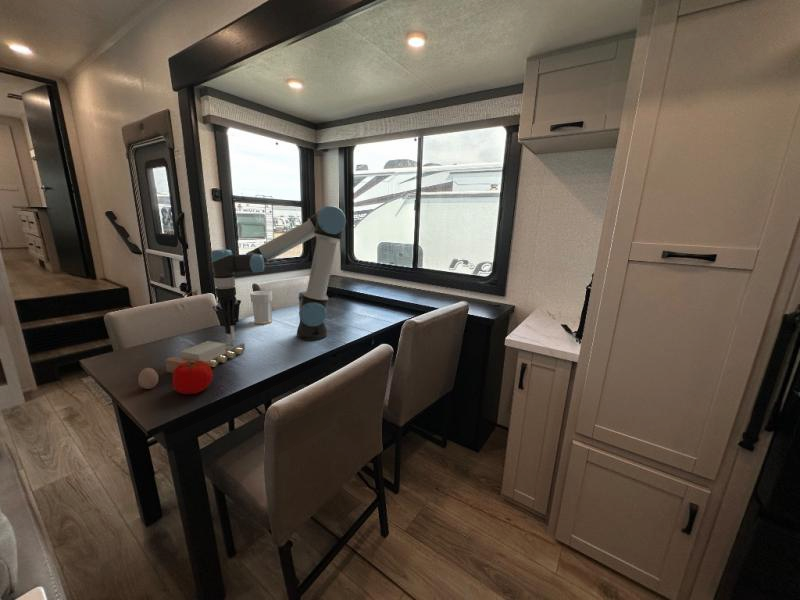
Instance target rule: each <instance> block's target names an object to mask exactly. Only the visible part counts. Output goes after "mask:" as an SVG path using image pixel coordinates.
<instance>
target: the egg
mask: <svg viewBox="0 0 800 600" xmlns="http://www.w3.org/2000/svg"><path fill="white" fill-rule="evenodd" d="M137 379H138V380H137V381H138V384H139V386H140V387H141V388H143V389H147V390H151V389H153V388H155V386H157V384H158V382H159V374H158V373H157V371H156V370H155V369H153V368H152V367H151V368H150V367H145V368H143V369H142V370H141V371H140V372H139V374H138V378H137Z"/></svg>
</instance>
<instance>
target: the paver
mask: <svg viewBox="0 0 800 600" xmlns="http://www.w3.org/2000/svg"><path fill="white" fill-rule="evenodd" d="M225 353H226V348H225V343H223V342H218V341H212V340H206V341H203V342H201V343H198V344H197V345H194V346H191V347H189V348H186V349H184V350H181V351H180V355H181V358H183V359H188V360H193V361H198V360H201V361H204V362H207V361H209V360H212V359H214V358H216V357H218V356H220V355H223V354H225Z"/></svg>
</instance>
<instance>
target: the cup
mask: <svg viewBox="0 0 800 600" xmlns="http://www.w3.org/2000/svg"><path fill="white" fill-rule="evenodd" d="M249 293H250V294H249V295H250V302H251V304H252V312H253V319H254V324H255V325H258V326H263V325H269V324H271V323H272V322H273V313H272V309H273V308H272V301H273V291H271V290H256V291H251V292H249Z"/></svg>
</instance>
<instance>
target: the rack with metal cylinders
mask: <svg viewBox="0 0 800 600" xmlns="http://www.w3.org/2000/svg"><path fill="white" fill-rule="evenodd" d="M224 344H225V348H226V353H225V354H223V355H220V356H218V357H216V358H214V359H212V360H209V361H207V362H206V363H207V364H208V365H209V366H210V367H211V368H212V367H214V368H216V367H217V366H218V364H219V363H225V362H227V360H228V359H229V358H231V359H234V358H235V357H236V355H243V354H244V353H245V352H244V351H246V347H245V343H239V344H237V345H235V346H234V342H233V341H230V340H229V341H228V342H226V343H224ZM188 361H189V362H191V361H192V362H195V361H193V360H188V359H183V358H182V357H177V356H171V357H169V358H166V359H165V365H166V372H167V373H171V374H173V373H174V370H175V369H176V368H177V367H178V366H179V365H180V364H182V363H185V362H188Z"/></svg>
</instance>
